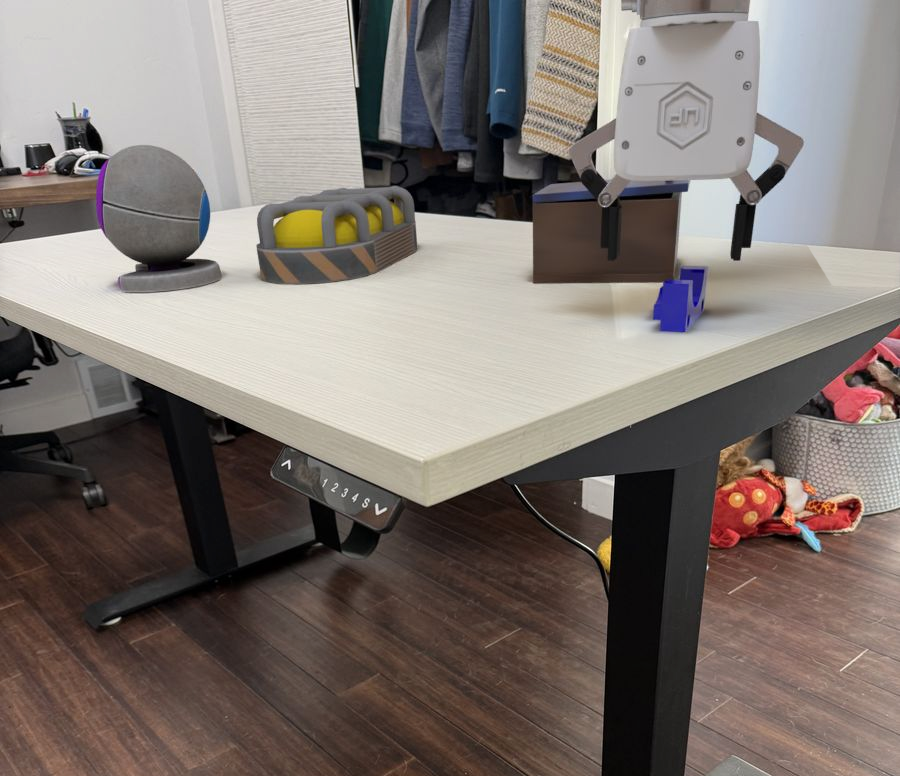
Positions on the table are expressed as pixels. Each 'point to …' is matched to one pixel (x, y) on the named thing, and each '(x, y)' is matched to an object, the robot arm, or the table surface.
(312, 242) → the cage light
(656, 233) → the chest
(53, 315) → the table surface
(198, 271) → the grey ball on stand
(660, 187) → the lid
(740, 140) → the robot arm
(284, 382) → the table surface
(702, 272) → the cable holder
